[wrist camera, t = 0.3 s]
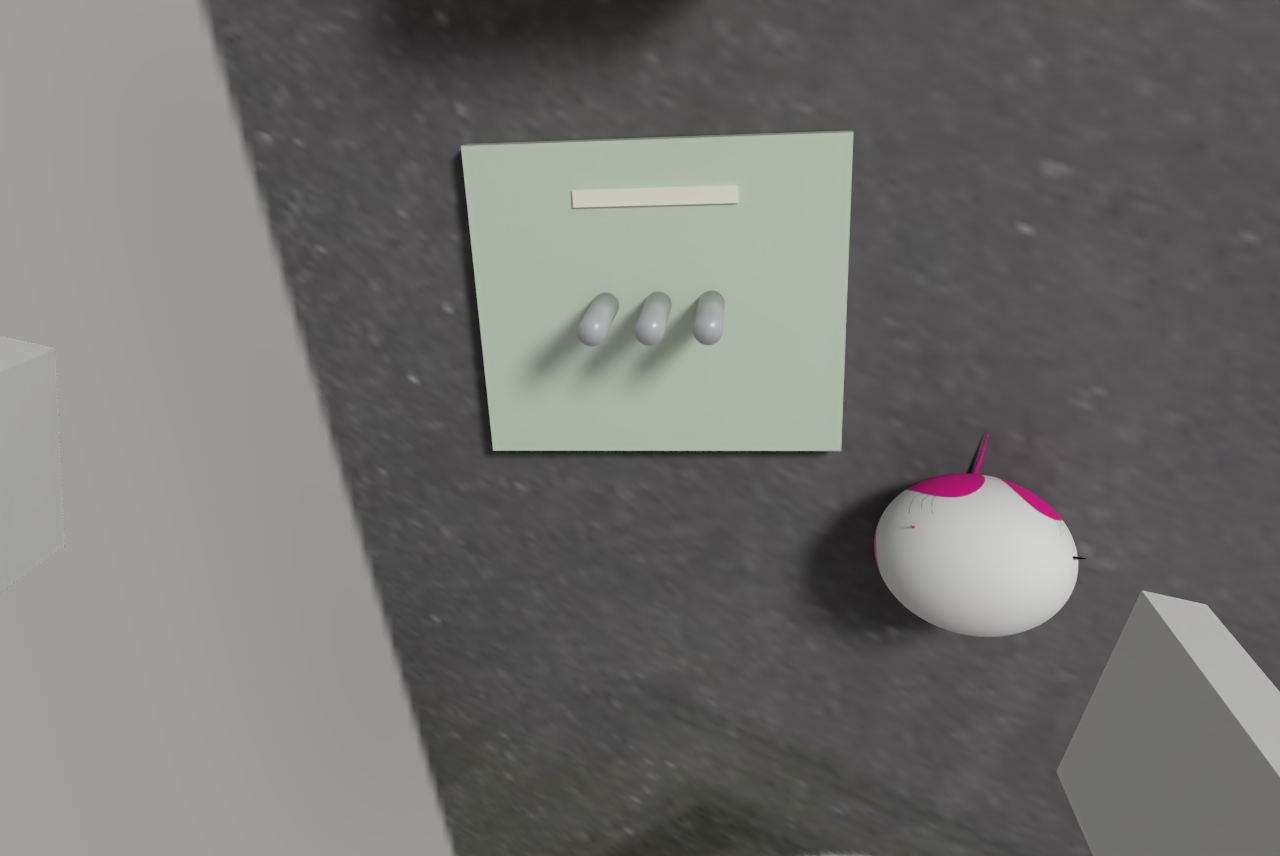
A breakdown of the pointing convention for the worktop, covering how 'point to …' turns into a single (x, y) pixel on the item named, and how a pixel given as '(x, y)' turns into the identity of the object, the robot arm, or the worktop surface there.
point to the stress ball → (976, 554)
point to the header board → (663, 290)
